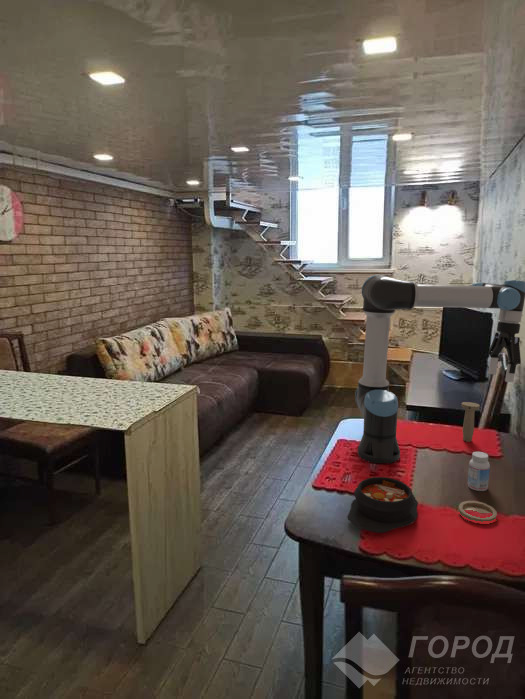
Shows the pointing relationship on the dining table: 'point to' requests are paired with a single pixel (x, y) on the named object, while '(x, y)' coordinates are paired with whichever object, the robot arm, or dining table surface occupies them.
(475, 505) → the ring
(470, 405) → the handle
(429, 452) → the dining table surface
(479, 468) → the pill bottle
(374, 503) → the casserole
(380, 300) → the robot arm
